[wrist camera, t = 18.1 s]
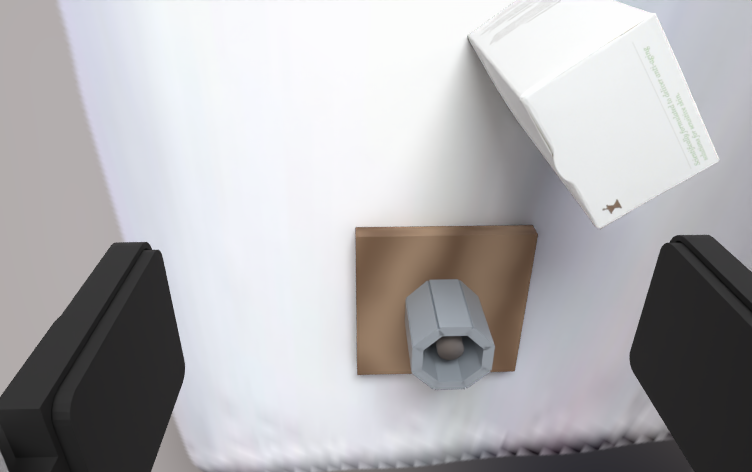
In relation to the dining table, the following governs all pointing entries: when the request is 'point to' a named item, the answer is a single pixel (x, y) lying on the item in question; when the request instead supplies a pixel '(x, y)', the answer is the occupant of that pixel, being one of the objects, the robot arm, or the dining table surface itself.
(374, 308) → the roll stand
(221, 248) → the dining table surface
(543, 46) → the skincare box
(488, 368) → the roll
